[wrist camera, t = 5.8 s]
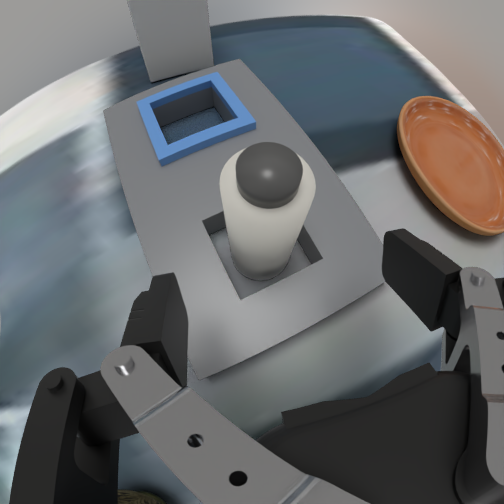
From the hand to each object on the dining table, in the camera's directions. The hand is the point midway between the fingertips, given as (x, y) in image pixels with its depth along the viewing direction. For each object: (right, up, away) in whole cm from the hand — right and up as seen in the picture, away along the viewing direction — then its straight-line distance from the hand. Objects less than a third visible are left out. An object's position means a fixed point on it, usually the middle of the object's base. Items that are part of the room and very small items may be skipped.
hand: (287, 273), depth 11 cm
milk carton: (-10, +23, +18) cm, 31 cm away
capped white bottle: (-1, +1, +10) cm, 10 cm away
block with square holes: (-3, +6, +12) cm, 13 cm away
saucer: (+19, +9, +13) cm, 25 cm away
